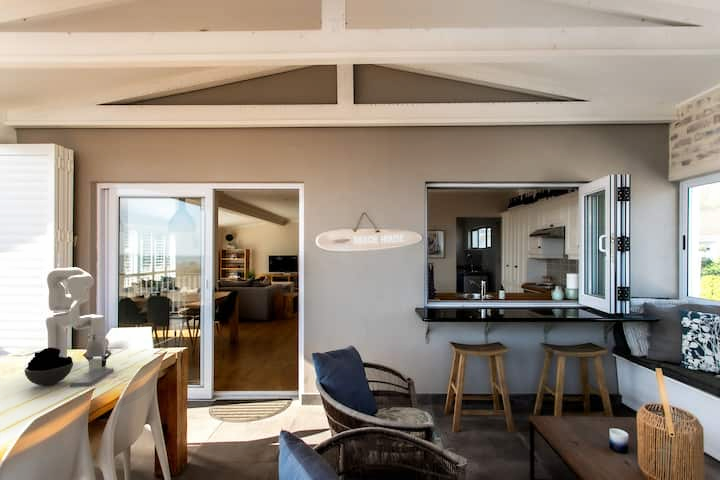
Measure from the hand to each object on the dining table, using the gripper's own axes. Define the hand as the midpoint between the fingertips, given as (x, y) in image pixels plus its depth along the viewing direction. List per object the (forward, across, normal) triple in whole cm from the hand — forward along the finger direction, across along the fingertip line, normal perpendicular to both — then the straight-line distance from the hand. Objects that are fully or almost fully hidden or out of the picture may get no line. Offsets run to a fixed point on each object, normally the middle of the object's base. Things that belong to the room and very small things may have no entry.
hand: (97, 366), depth 230 cm
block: (+1, 0, 0) cm, 1 cm away
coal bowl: (+1, -11, -25) cm, 27 cm away
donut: (+1, -20, +44) cm, 48 cm away
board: (+1, +7, -19) cm, 20 cm away
